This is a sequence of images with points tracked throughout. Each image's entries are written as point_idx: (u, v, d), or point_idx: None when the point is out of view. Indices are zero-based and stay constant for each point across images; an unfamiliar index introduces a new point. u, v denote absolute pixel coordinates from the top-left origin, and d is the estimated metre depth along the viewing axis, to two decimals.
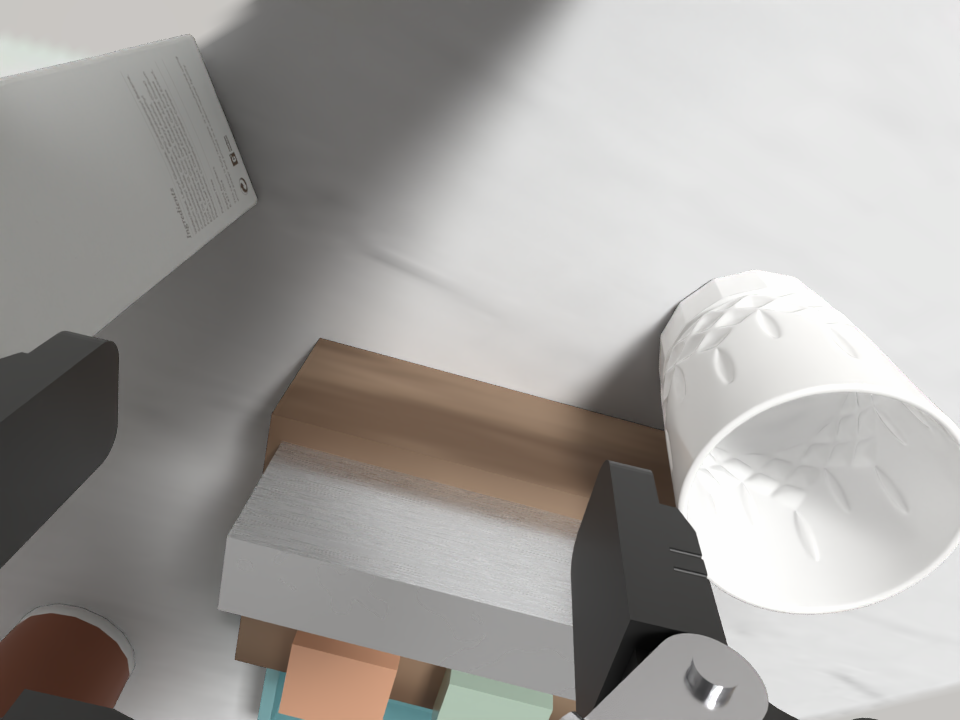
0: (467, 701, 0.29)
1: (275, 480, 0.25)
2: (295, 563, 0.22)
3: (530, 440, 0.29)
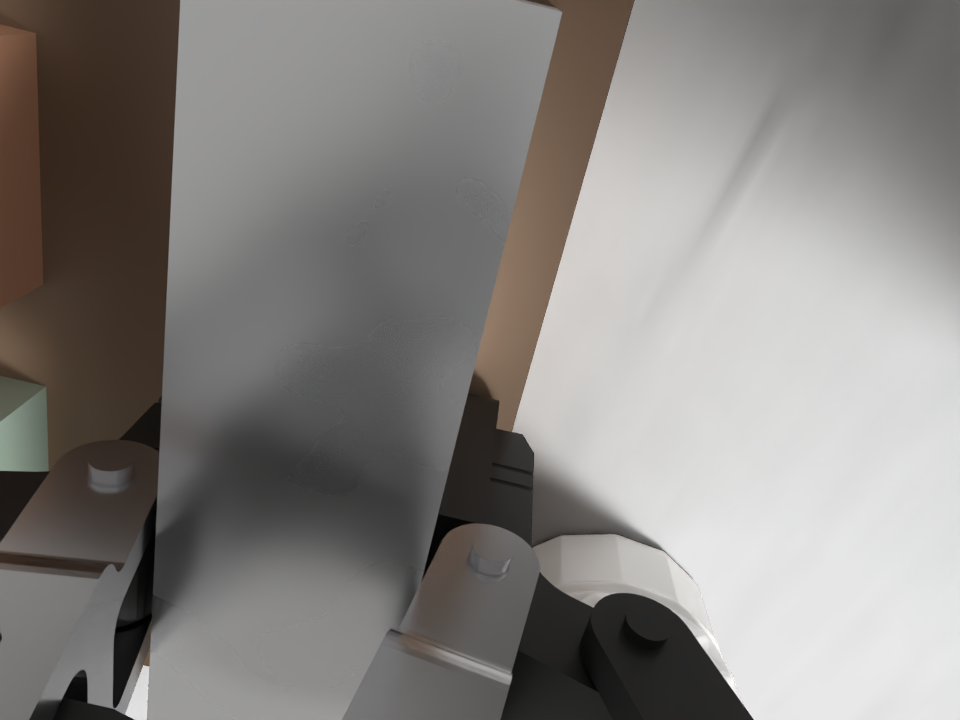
0: None
1: None
2: (463, 251, 0.07)
3: None
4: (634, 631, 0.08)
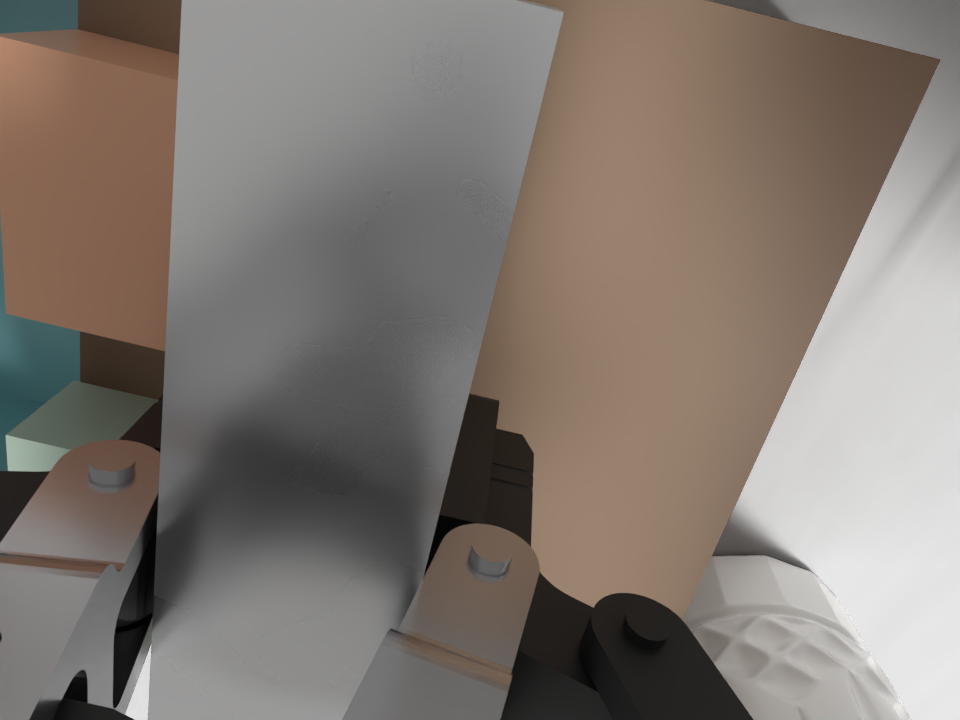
0: None
1: None
2: (464, 252, 0.07)
3: None
4: (634, 631, 0.08)
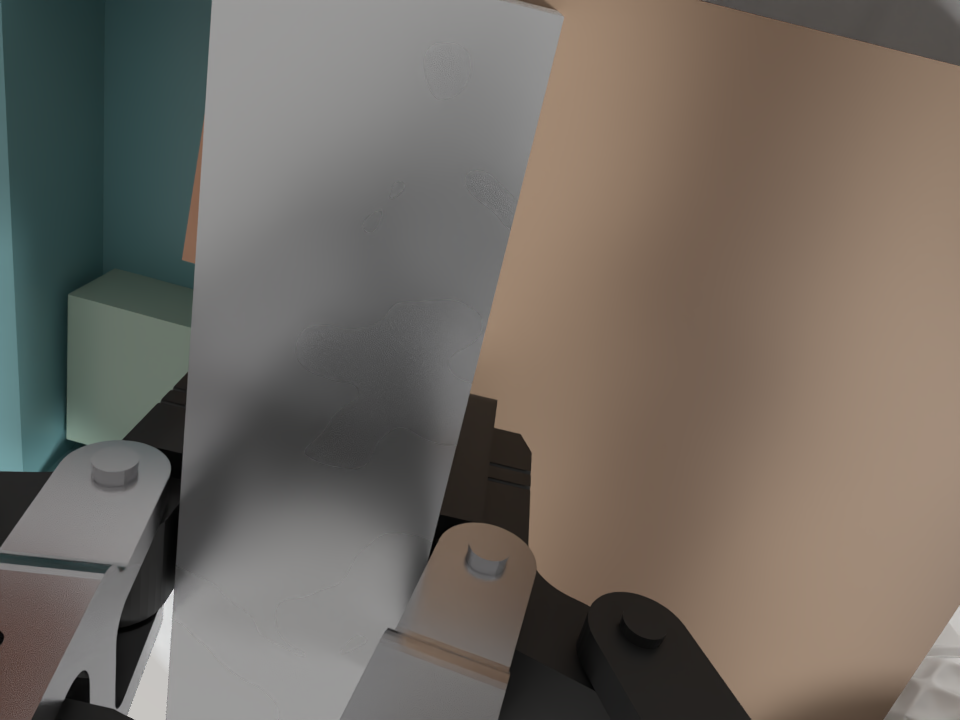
0: None
1: None
2: (471, 238, 0.07)
3: None
4: (631, 630, 0.08)
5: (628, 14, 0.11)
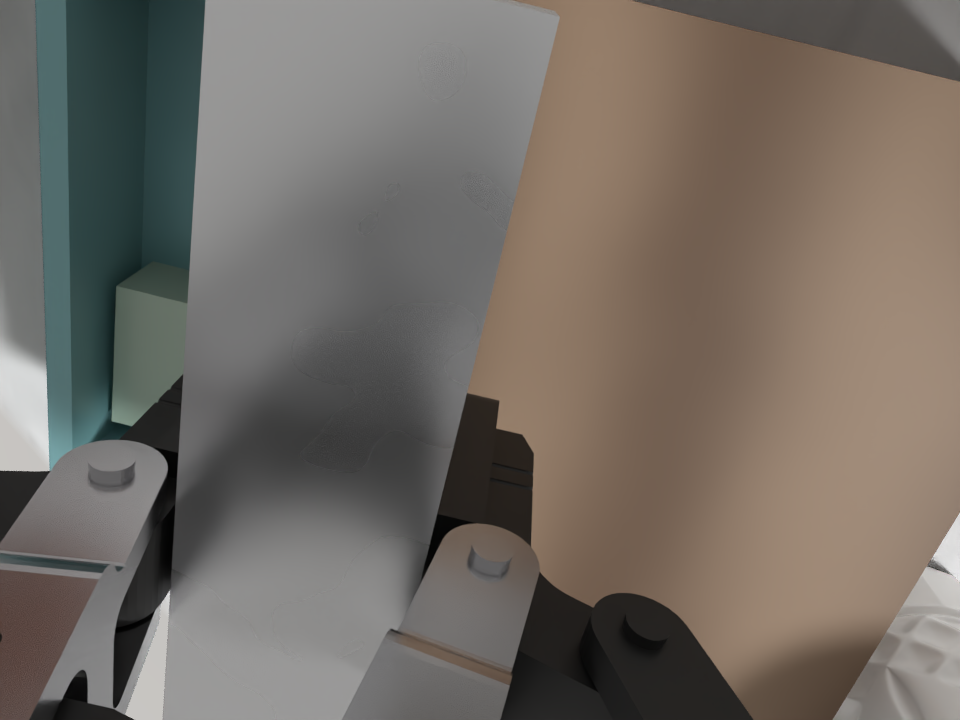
0: None
1: None
2: (467, 240, 0.07)
3: None
4: (634, 631, 0.08)
5: (632, 28, 0.12)
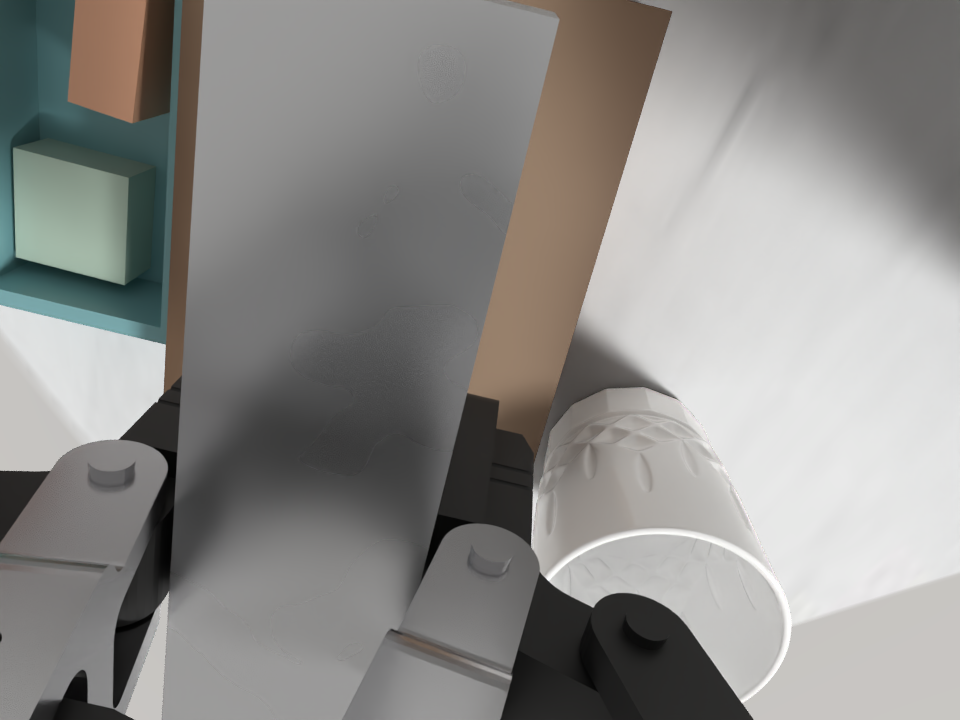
0: None
1: None
2: (467, 243, 0.07)
3: None
4: (634, 631, 0.08)
5: None
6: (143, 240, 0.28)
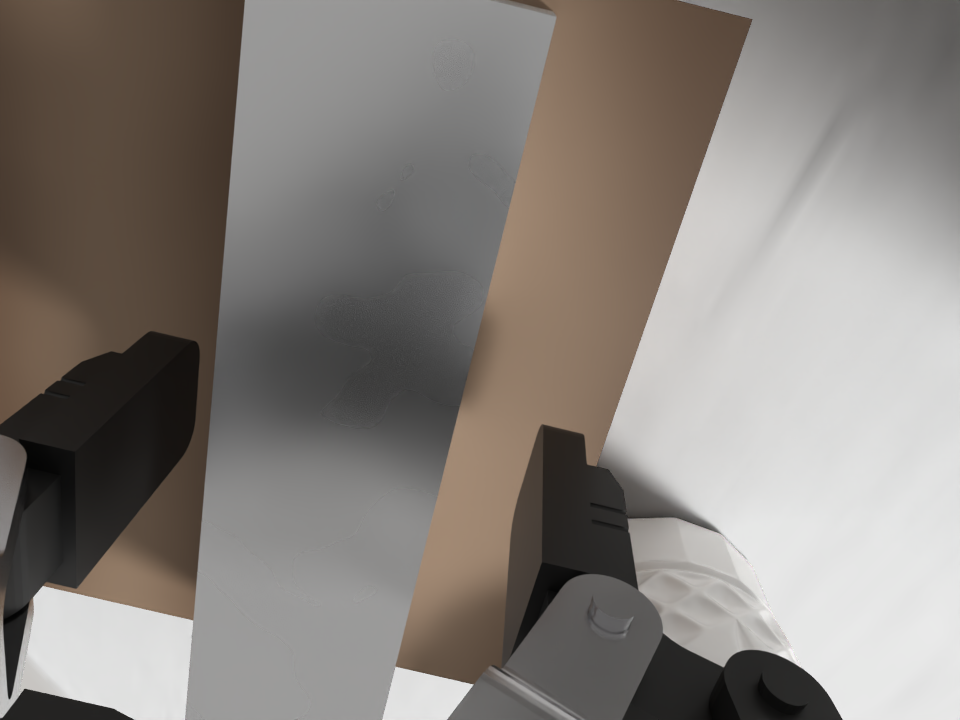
0: None
1: None
2: (474, 215, 0.08)
3: None
4: (769, 690, 0.08)
5: None
6: None
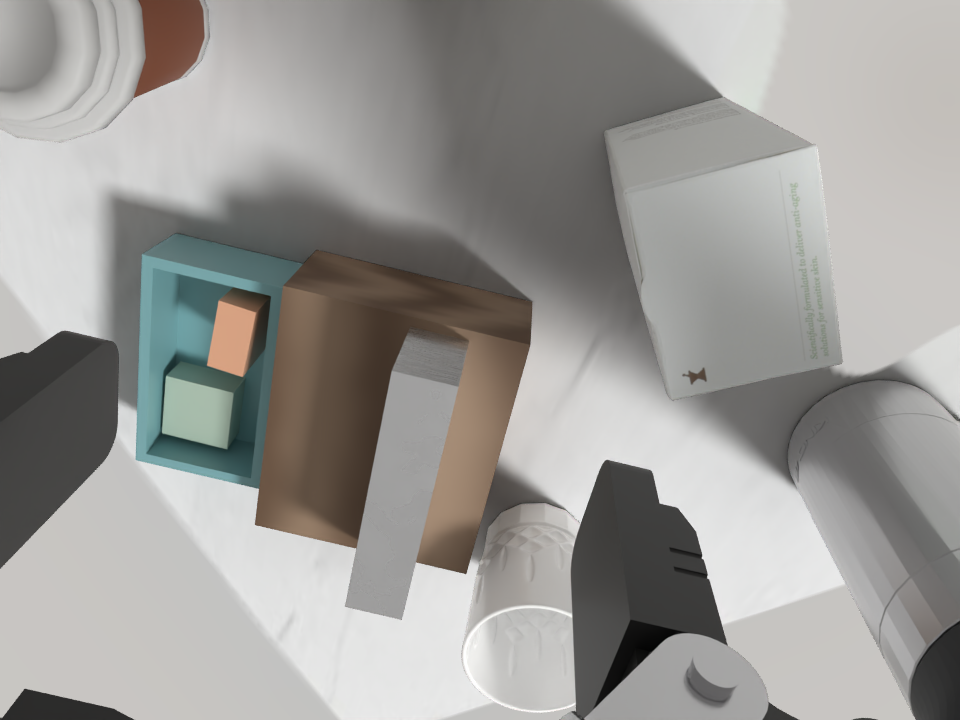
0: None
1: None
2: (441, 424, 0.34)
3: None
4: None
5: (343, 307, 0.38)
6: (237, 419, 0.47)
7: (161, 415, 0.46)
